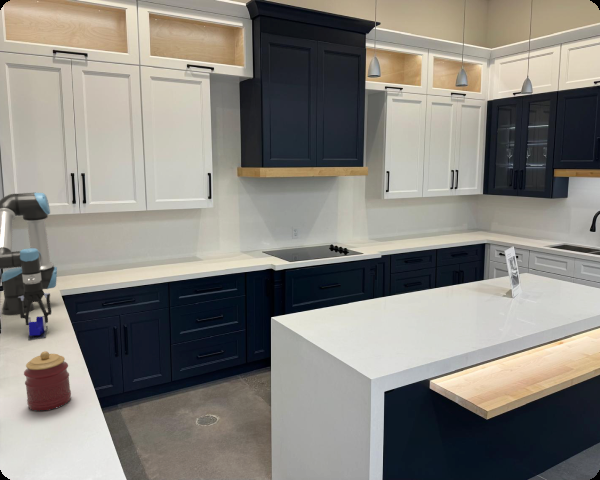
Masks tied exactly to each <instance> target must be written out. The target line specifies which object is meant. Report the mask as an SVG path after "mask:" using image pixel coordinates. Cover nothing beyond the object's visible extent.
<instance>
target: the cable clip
mask: <svg viewBox="0 0 600 480" xmlns="http://www.w3.org/2000/svg"><path fill="white" fill-rule="evenodd" d="M43 316H44V315H41V316H36V317H35V318H36V319H35V321H31V322H29V325H28V336H33V335H41V334H42V333H43V332H44V324H43Z"/></svg>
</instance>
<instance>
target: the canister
mask: <svg viewBox="0 0 600 480" xmlns="http://www.w3.org/2000/svg"><path fill="white" fill-rule="evenodd" d="M25 367H26V369H25V370H24V371H23V375H24V376H25V377H26V380H25V382H24V385H25V388H26V398H27V399H26V402H27V406H28V408H29V409H30V410H31V409H32V410H31V411H34V410H37V411H36V412H41V411H40V410H47V411H50V410H49V409H52V410H54V409H53V408H56V407H58V408H60V407H59V406H61V405H63V406H64V404H65V403H66V404H68V403H69V402H70V400H71V396H72V391H71V386H70V385H71V384H70V373H69V372H68V367H69V364H68V363H67V362H66V361H65V357H64V356H63V355H61V354H60V355H59V353H49V352H48V351H45V350H44V351H42V352H41V353H40V355H38V356H34V357H33V358H31V360H30V361H28V362H27V363H26V365H25ZM68 401H69V402H68ZM66 404H65V405H66ZM61 407H62V406H61ZM56 409H57V408H56ZM38 410H39V411H38Z"/></svg>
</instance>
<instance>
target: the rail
mask: <svg viewBox="0 0 600 480" xmlns="http://www.w3.org/2000/svg"><path fill="white" fill-rule="evenodd" d="M48 330H49V326H48V325H46V331H44V332H43V333H42V334H41V335H33V336H29V335H28V336H27V341H35V340H36V341H37V340H40V339H46V338H47V334H48Z"/></svg>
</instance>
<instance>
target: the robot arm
mask: <svg viewBox="0 0 600 480" xmlns="http://www.w3.org/2000/svg"><path fill="white" fill-rule="evenodd" d="M50 214H51V208H50V204H49V200H48V197H47V195H46V194H45V193H43V192H23V193H10V194H8V195H5V196H4V197H3V198H1V199H0V270H5V269H7V270H5V271H4V272H2V274H1V283H2V288H3V297H4V299H3V303H2V304H3V305H2V308H1V310H2V311H1V312H2V314H3V315H6V316H9V315H10V316H12V315H13V316H14V315H19V316H20V319H25V320H24V321H25V326H28V327H29V322H32V320H31V319H32V318H31V317H30V316H29V315H30V312H32V311H33V310H34V309H35V304H34V303H37V304H38V305H39V307H40V310H41V312H42V314H43V315H42V316H43V324H44V331H46V326H47V323H48V322H49V316H50V315H52V306H51V300H50V299H51V298H50V297H51V293H50V292H48V293H47V292H44V290H49V289H54V288H56V287H57V279H58V278H57V277H58V274H57V273H58V272H57V271H58V267H57V266H55V265H54V263H53V262H51V258H50V249H49V243H48V241H49V240H48V234H47V228H46V227H47V225H46V221H47V219H48V217H49V216H48V215H50ZM16 217H22V218H23V219H22V220H23V221H25V222H26V225H27V231H28V234H27V235H28V240H29V241H28V242H29V247H30V248H24V249H21V250H18V251H17V250H16V251H12V247H13V225H14V224H13V223H14V222H13V221H14V220H15V219H16ZM43 297H44V298H45V299H46V300H45V301H46V306H47V309H46V307H45V305H44V303H43V300H42V299H43Z"/></svg>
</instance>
